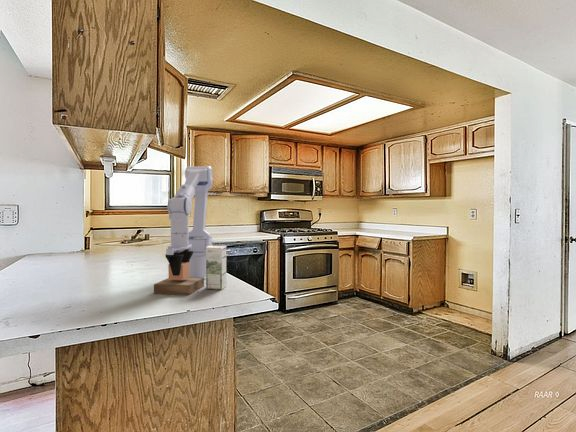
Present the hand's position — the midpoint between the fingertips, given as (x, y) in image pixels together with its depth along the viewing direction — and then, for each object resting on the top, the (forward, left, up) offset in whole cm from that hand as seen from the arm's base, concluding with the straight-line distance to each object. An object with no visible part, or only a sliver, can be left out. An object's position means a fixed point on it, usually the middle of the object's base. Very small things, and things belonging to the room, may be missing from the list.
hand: (180, 273), depth 112 cm
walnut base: (0, 0, -5) cm, 5 cm away
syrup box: (-4, +11, -6) cm, 13 cm away
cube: (0, 0, -2) cm, 2 cm away
